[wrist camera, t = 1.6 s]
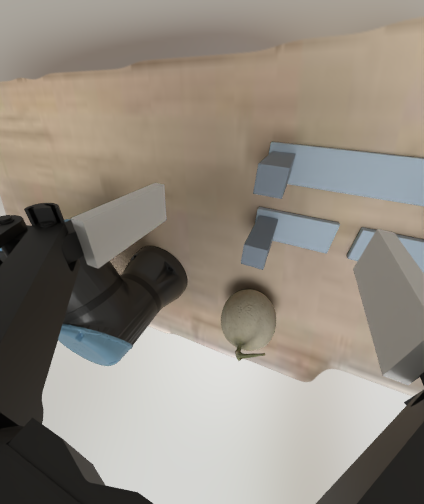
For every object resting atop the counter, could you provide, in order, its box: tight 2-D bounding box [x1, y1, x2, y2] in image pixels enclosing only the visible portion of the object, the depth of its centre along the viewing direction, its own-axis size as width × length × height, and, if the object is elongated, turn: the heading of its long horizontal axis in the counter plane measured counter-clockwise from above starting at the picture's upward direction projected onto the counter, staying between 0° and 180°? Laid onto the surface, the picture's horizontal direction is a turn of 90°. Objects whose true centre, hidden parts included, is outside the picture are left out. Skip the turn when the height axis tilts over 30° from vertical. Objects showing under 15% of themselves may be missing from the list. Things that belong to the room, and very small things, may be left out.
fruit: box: [221, 289, 276, 360], centre depth 39 cm, size 10×12×15 cm
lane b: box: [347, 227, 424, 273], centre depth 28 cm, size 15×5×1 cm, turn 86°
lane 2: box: [241, 207, 340, 270], centre depth 29 cm, size 12×5×11 cm, turn 86°
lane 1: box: [253, 142, 424, 206], centre depth 21 cm, size 30×5×11 cm, turn 86°
